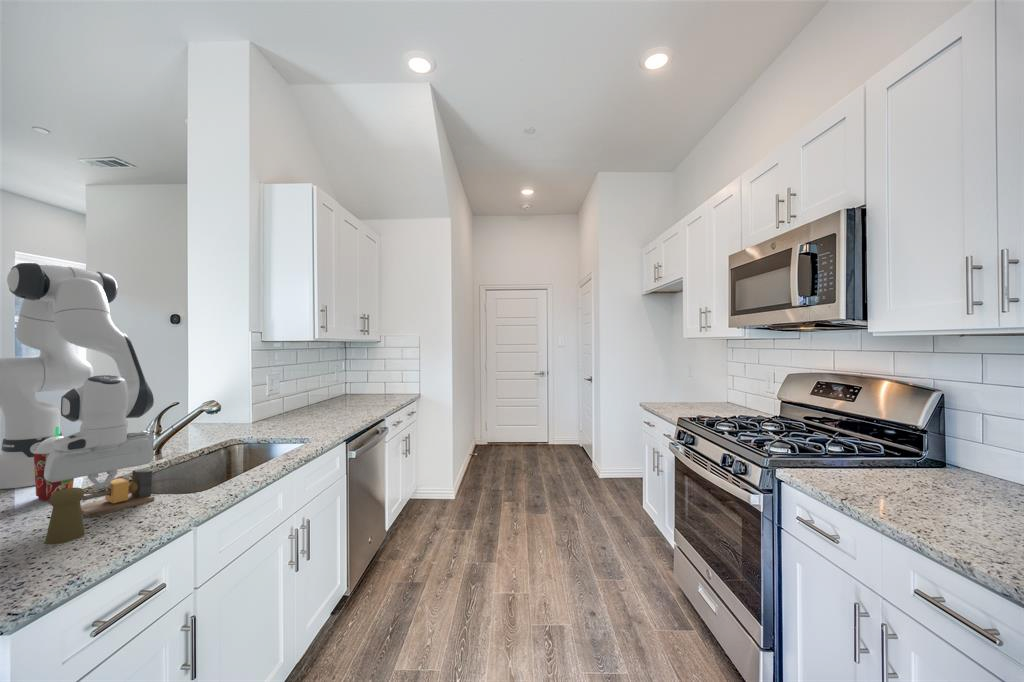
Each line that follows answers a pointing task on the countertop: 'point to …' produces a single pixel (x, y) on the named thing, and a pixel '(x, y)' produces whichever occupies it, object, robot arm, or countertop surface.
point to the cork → (65, 516)
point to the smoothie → (40, 456)
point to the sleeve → (118, 491)
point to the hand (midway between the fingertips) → (102, 488)
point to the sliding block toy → (138, 496)
